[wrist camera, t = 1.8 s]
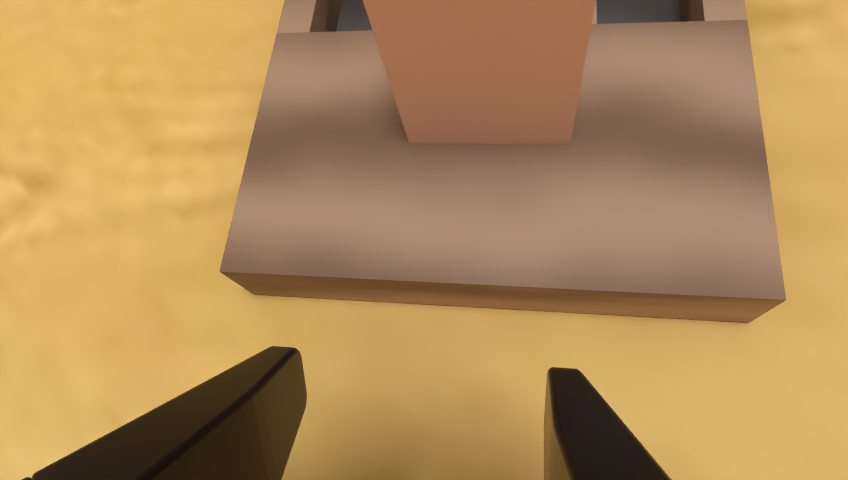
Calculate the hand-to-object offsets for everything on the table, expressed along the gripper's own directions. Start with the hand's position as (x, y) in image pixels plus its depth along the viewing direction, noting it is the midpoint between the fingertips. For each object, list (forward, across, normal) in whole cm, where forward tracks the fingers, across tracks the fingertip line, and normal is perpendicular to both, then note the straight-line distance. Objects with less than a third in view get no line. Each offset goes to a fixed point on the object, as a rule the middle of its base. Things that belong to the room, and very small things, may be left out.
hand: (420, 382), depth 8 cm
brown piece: (+21, 0, -2) cm, 21 cm away
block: (+17, 0, -2) cm, 17 cm away
